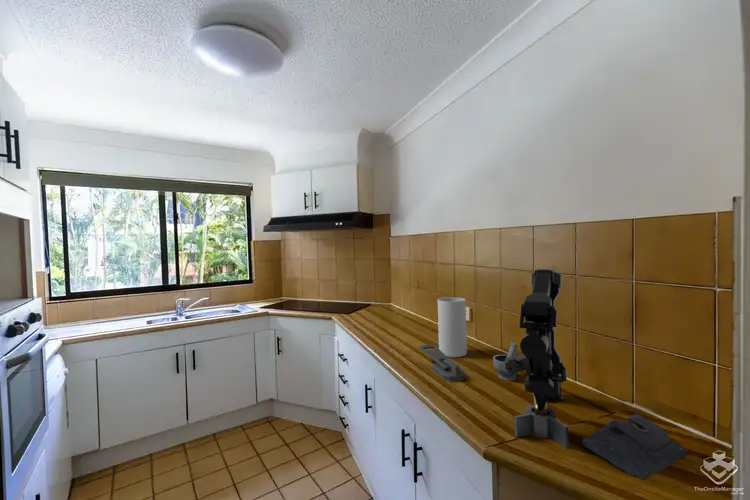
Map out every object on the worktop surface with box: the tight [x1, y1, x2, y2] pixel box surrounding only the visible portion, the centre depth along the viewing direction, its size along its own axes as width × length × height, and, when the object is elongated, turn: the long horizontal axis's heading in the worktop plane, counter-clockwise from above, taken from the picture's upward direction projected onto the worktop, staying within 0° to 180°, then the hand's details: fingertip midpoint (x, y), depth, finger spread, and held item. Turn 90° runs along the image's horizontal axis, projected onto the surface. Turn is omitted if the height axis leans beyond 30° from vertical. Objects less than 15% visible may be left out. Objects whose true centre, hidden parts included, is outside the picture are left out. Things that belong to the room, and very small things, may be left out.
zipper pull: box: [418, 344, 467, 383], centre depth 129 cm, size 9×7×25 cm
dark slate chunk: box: [581, 413, 688, 480], centre depth 76 cm, size 15×22×5 cm
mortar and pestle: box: [492, 342, 519, 382], centre depth 120 cm, size 11×9×12 cm
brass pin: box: [533, 395, 548, 416], centre depth 84 cm, size 3×3×10 cm
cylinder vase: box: [437, 296, 468, 358], centre depth 148 cm, size 12×12×25 cm
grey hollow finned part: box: [513, 404, 570, 449], centre depth 82 cm, size 11×11×5 cm
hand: (540, 407), depth 84 cm, fingers closed on brass pin, 3 cm apart
